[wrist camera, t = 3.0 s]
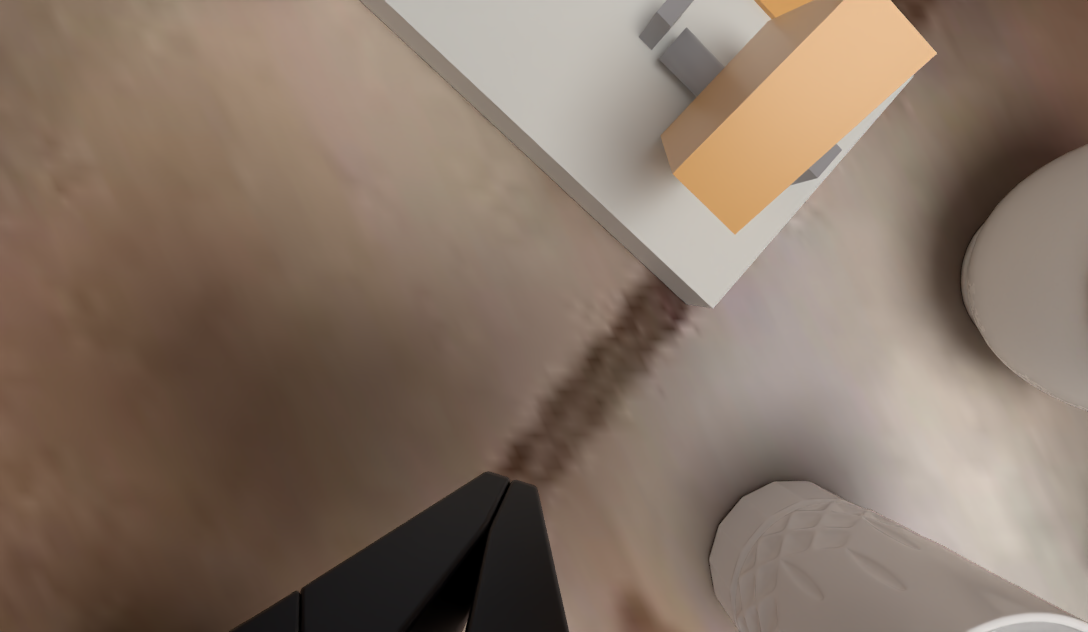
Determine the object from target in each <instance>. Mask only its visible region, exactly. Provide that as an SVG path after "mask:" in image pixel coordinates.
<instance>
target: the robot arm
mask: <svg viewBox="0 0 1088 632" xmlns="http://www.w3.org/2000/svg"><path fill="white" fill-rule="evenodd" d="M467 620H468V621H467ZM466 622H467V625H466V630H465V632H569V629H568V625H567V620H566V616H565V611H564V607H563V602H562V598H561V593H560V588H559V584H558V579H557V575H556V570H555V566H554V561H553V557H552V552H551V548H550V543H549V539H548V534H547V529H546V525H545V520H544V516H543V511H542V507H541V502H540V498H539V493H538V490H537V487H536V486H534V485H531V484H528V483H525V482H521V481H518V480H513V481H512V482H511V483H510V479H509V478H508V477H505V476H502V475H499V474H495V473H492V472H485V473H483V474H481V475H480V476H478V477H476V478H475V479H473V480H472V481H470V482H468V483H467V484H465V485H464V486H462V487H461V488H459V489H457V490H456V491H454V492H453V493H451V494H450V495H448V496H446V497H445V498H443V499H442V500H440V501H438V502H437V503H435V504H434V505H432V506H431V507H429V508H427V509H426V510H424V511H423V512H421V513H419V514H418V515H416V516H415V517H413V518H412V519H410V520H408V521H407V522H405V523H404V524H402V525H400V526H399V527H397V528H396V529H394V530H393V531H391V532H389V533H388V534H386V535H385V536H383V537H382V538H380V539H378V540H377V541H375V542H374V543H372V544H370V545H369V546H367V547H366V548H364V549H363V550H361V551H359V552H358V553H356V554H355V555H353V556H351V557H350V558H348V559H347V560H345V561H344V562H342V563H340V564H339V565H337V566H336V567H334V568H332V569H331V570H329V571H328V572H326V573H325V574H323V575H321V576H320V577H318V578H317V579H315V580H314V581H312V582H310V583H309V584H307V585H306V586H304V587H303V588H302V589H301V591H300V593H299V592H298V591H295V592H293V593H291V594H290V595H288V596H287V597H285V598H283V599H282V600H280V601H279V602H277V603H275V604H274V605H272V606H271V607H269V608H267V609H266V610H264V611H262V612H261V613H259V614H257V615H256V616H254V617H252V618H251V619H249V620H247V621H246V622H244V623H242V624H241V625H239V626H237V627H236V628H234V629H232V630H231V631H229V632H462V631H463V629H464V626H465V624H466Z"/></svg>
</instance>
